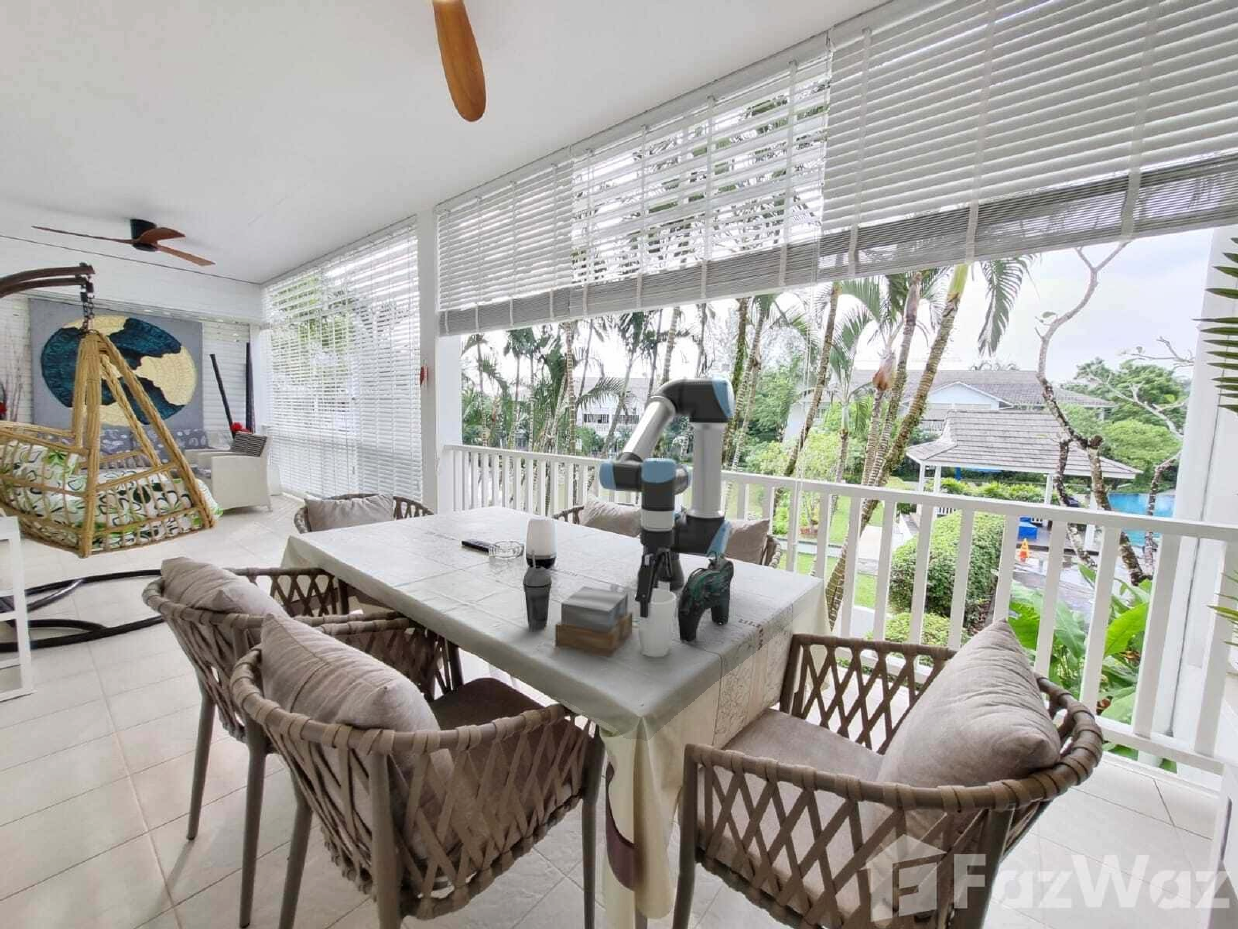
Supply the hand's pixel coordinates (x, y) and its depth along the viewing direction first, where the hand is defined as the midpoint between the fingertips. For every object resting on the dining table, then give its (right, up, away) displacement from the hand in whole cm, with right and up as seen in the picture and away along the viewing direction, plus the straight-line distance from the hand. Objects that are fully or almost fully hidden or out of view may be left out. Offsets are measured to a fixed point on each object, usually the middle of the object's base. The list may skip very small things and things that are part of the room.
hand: (654, 619), depth 113 cm
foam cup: (0, -8, +1) cm, 8 cm away
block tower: (-14, -7, +7) cm, 17 cm away
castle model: (-6, -6, +22) cm, 24 cm away
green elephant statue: (+14, -7, +12) cm, 20 cm away
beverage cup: (-29, -6, +13) cm, 32 cm away
